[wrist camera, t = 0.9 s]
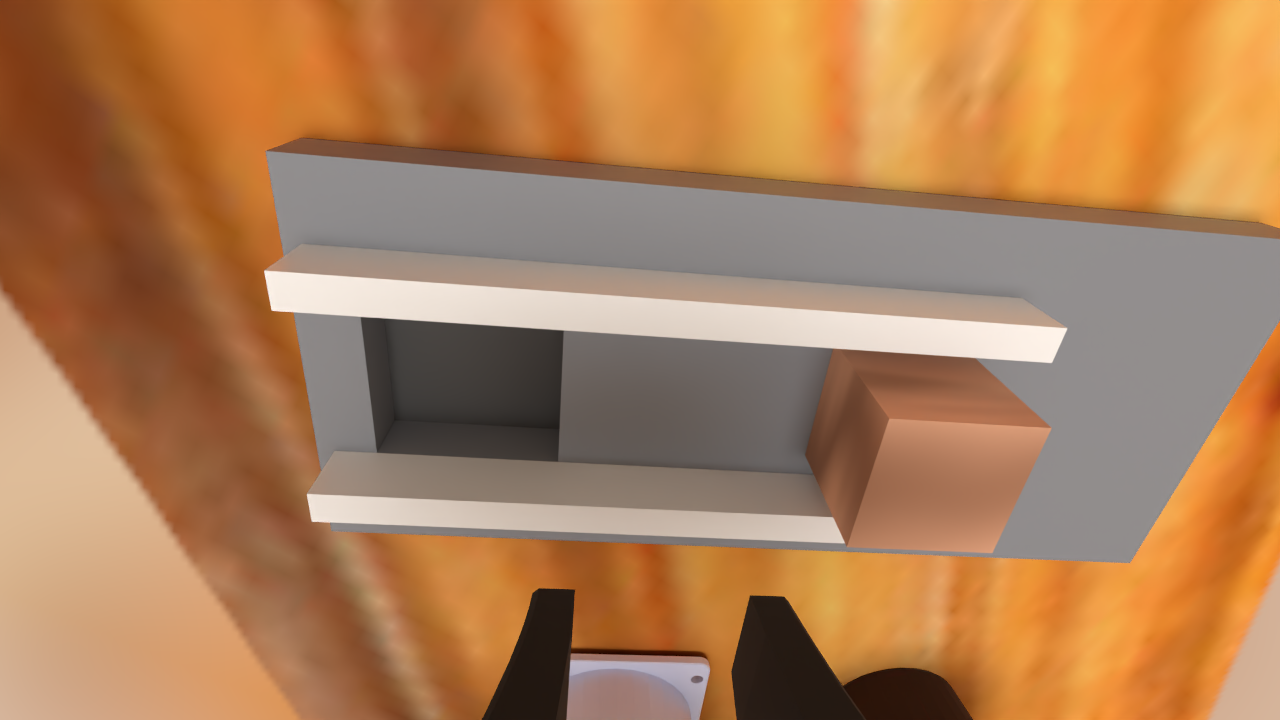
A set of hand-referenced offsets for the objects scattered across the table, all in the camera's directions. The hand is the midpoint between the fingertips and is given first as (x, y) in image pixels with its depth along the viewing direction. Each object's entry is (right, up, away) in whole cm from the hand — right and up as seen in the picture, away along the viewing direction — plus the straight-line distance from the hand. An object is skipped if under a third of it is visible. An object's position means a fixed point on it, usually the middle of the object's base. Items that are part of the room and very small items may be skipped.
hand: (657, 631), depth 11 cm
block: (+7, +3, +8) cm, 11 cm away
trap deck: (+4, +5, +10) cm, 11 cm away
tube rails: (0, +4, +8) cm, 8 cm away
